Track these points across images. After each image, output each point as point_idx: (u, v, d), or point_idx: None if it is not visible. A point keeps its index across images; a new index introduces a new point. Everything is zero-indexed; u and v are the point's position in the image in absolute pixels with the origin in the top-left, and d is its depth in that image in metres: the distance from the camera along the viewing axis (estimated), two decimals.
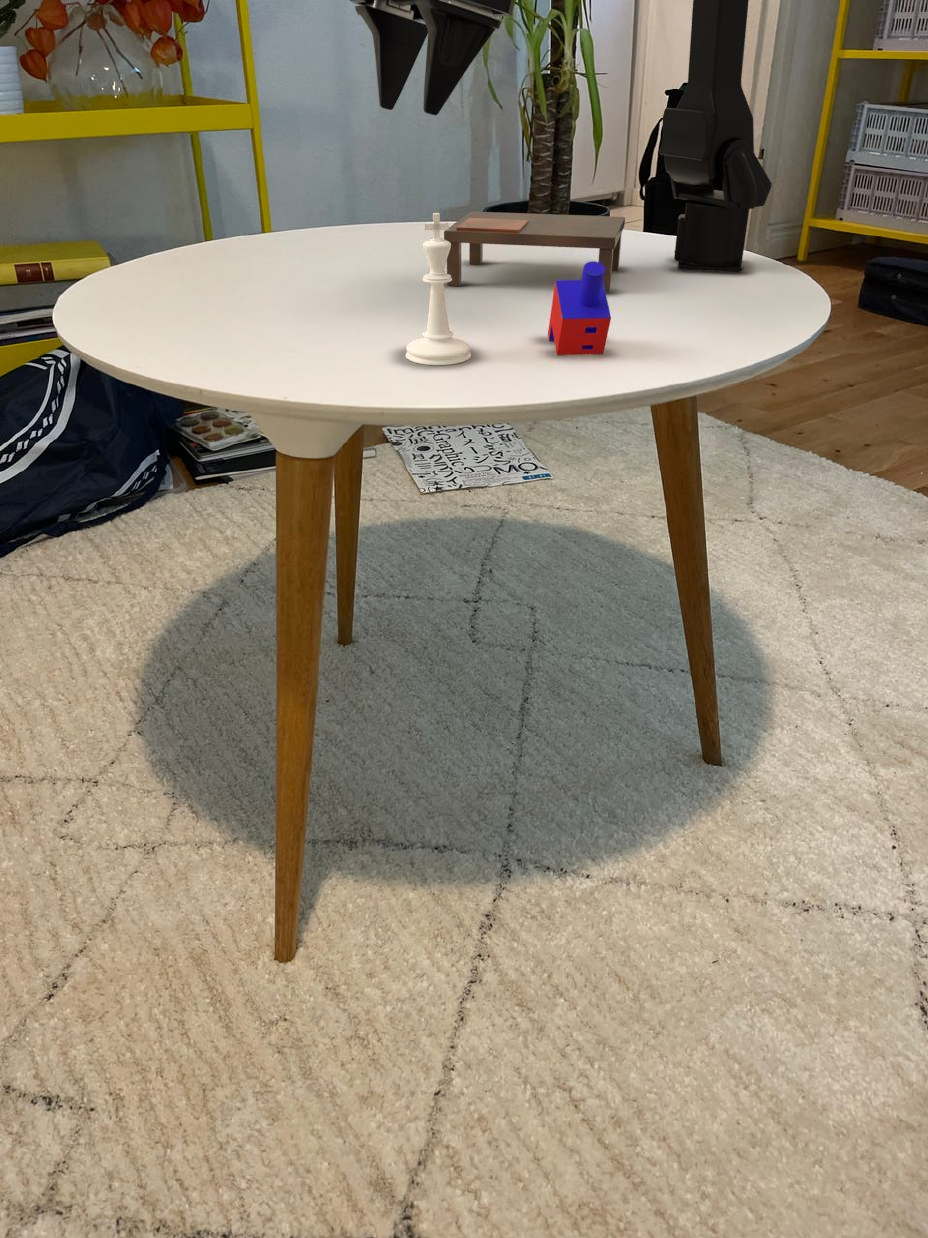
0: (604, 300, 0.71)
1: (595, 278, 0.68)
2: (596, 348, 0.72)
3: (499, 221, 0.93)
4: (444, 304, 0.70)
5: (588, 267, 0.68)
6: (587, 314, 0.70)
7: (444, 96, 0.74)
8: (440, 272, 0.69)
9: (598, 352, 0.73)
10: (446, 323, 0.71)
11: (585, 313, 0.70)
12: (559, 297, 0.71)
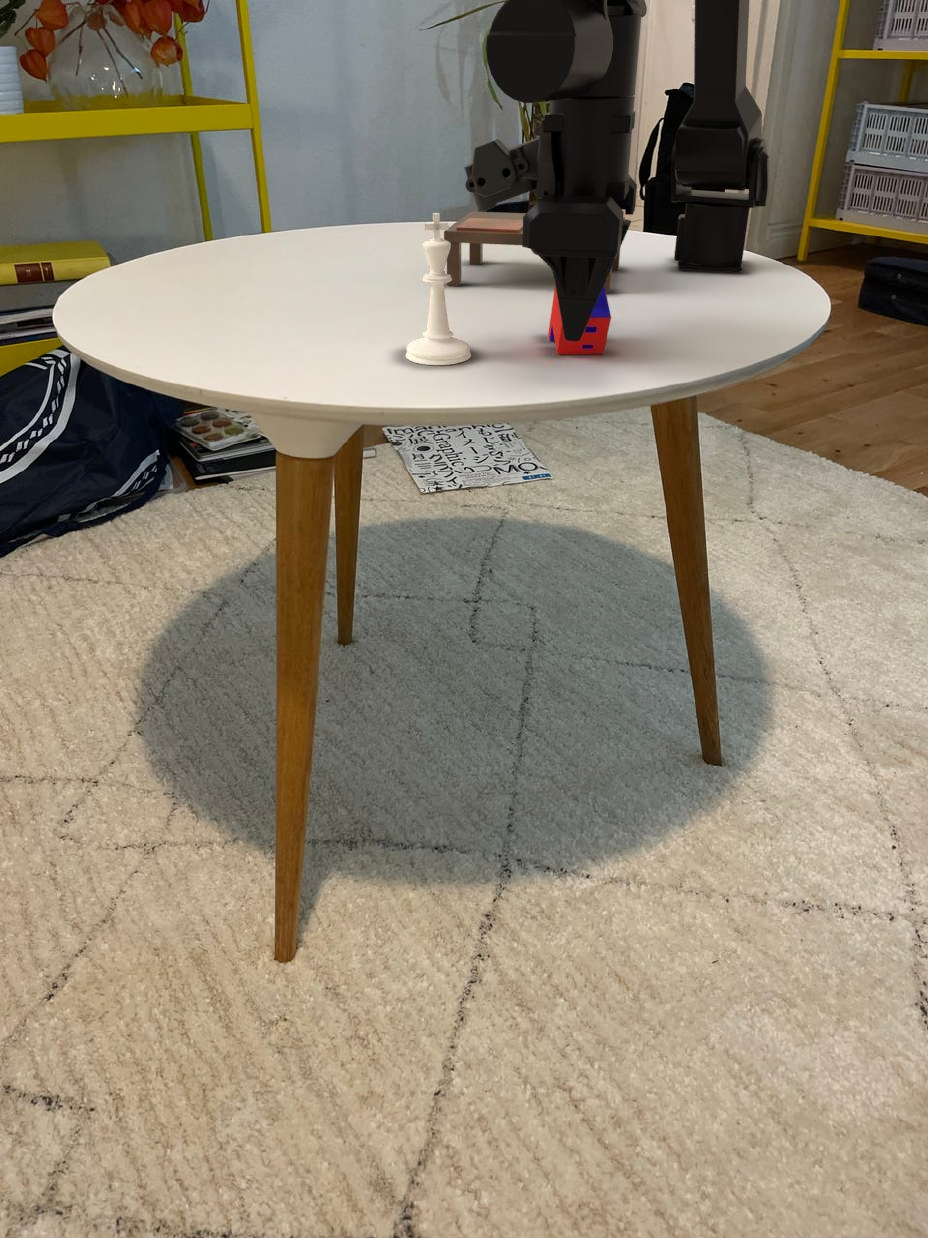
0: (604, 300, 0.71)
1: None
2: (597, 348, 0.72)
3: (499, 221, 0.93)
4: (444, 304, 0.70)
5: None
6: None
7: (581, 323, 0.69)
8: (440, 272, 0.69)
9: (599, 352, 0.73)
10: (446, 323, 0.71)
11: None
12: None
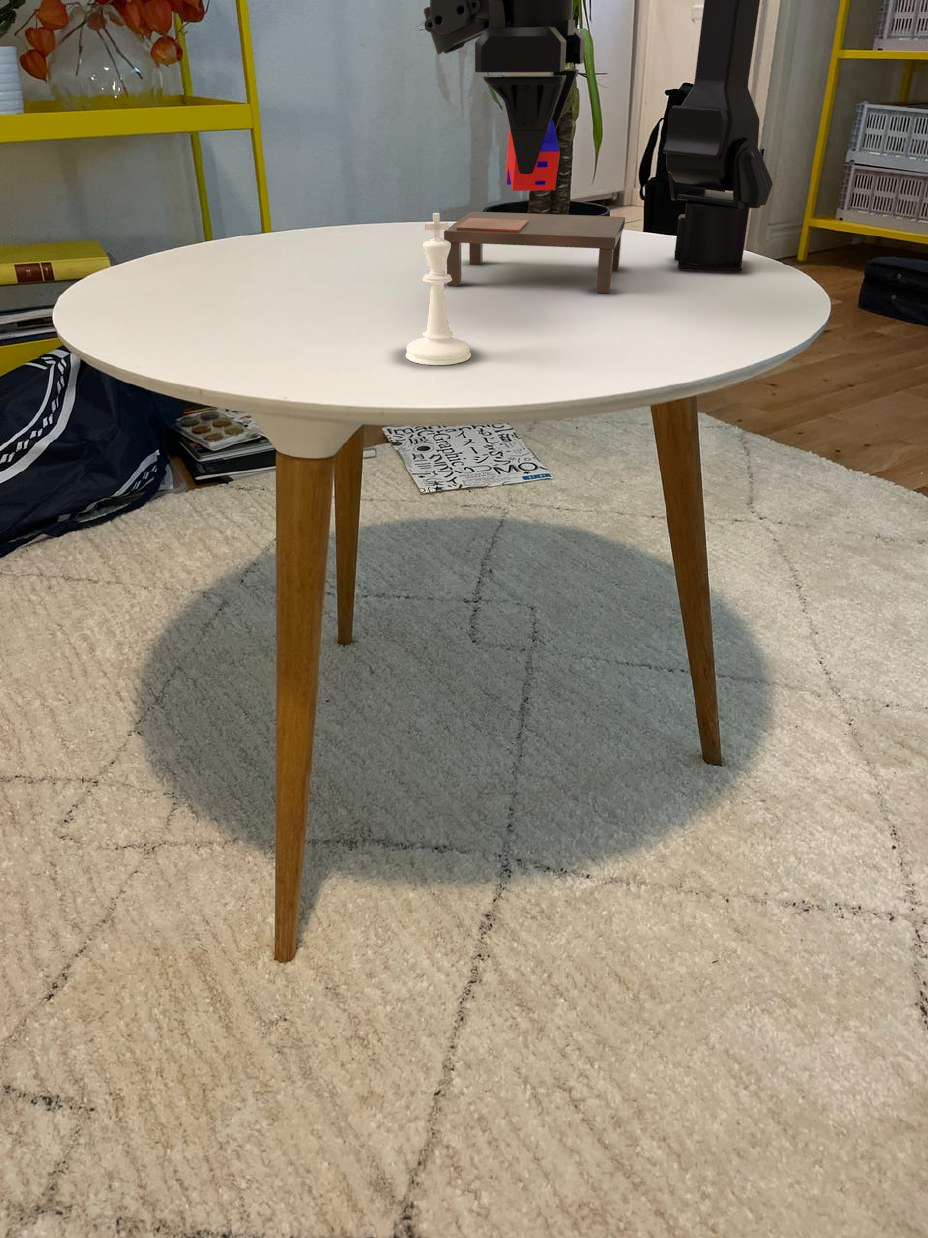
0: (554, 137, 0.78)
1: None
2: (548, 184, 0.79)
3: (499, 221, 0.93)
4: (444, 304, 0.70)
5: None
6: None
7: (533, 155, 0.76)
8: (440, 272, 0.69)
9: (550, 188, 0.80)
10: (446, 323, 0.71)
11: None
12: None
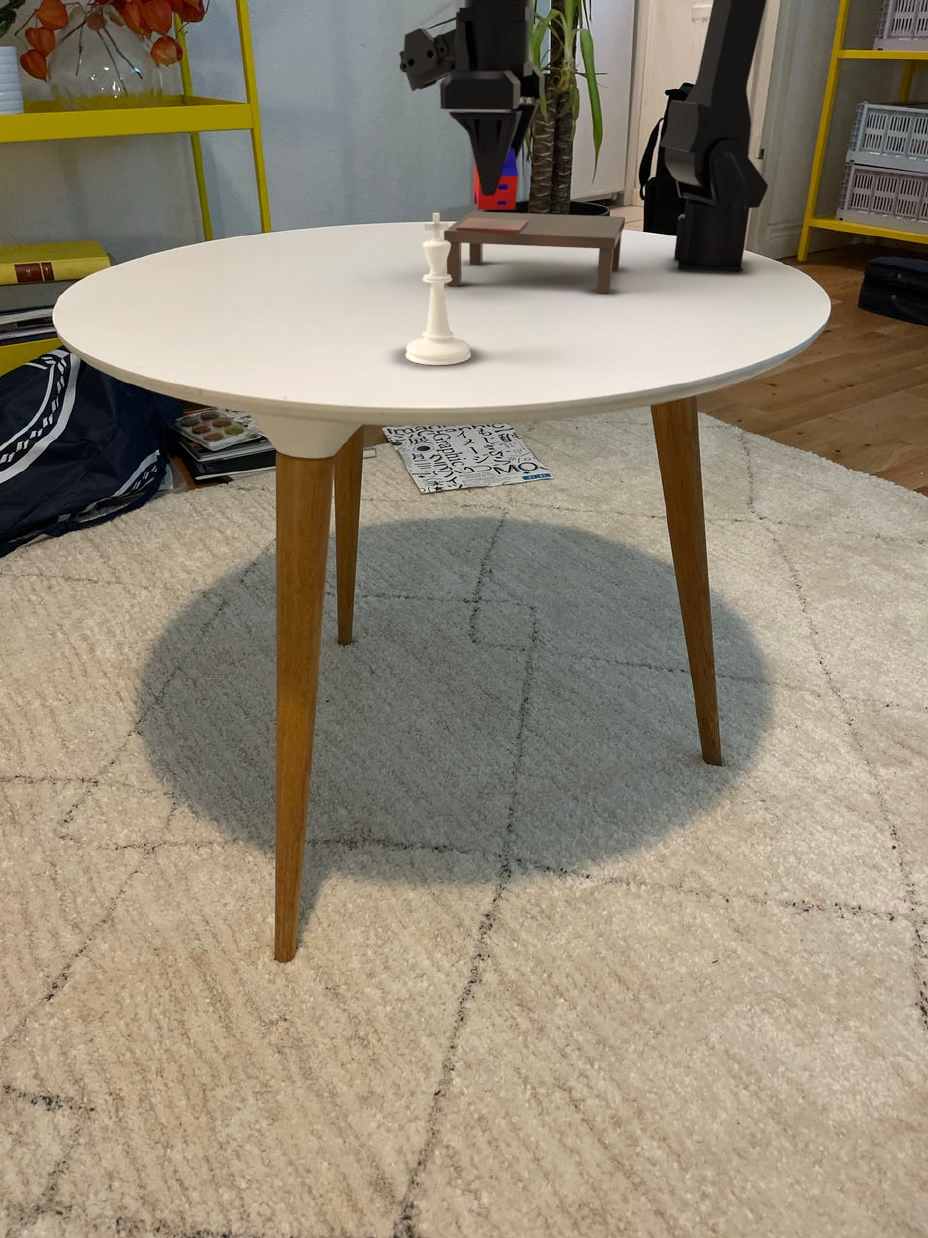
0: (514, 163, 0.89)
1: None
2: (509, 204, 0.90)
3: (499, 221, 0.93)
4: (444, 304, 0.70)
5: None
6: None
7: (494, 179, 0.87)
8: (440, 272, 0.69)
9: (511, 207, 0.91)
10: (446, 323, 0.71)
11: None
12: None
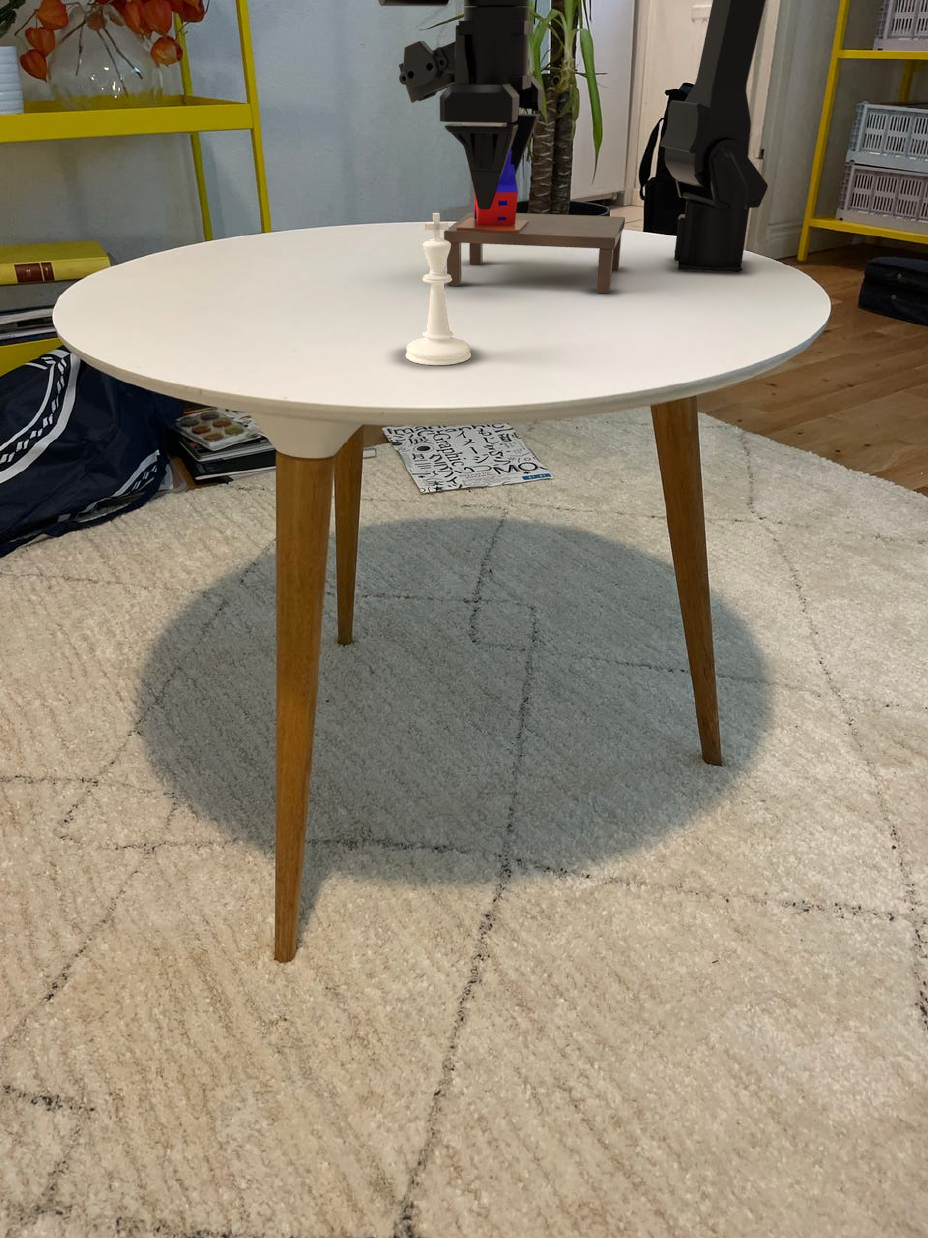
0: (513, 179, 0.90)
1: None
2: (509, 220, 0.91)
3: None
4: (444, 304, 0.70)
5: None
6: (499, 189, 0.89)
7: (490, 193, 0.86)
8: (440, 272, 0.69)
9: (511, 223, 0.91)
10: (446, 323, 0.71)
11: (497, 189, 0.89)
12: None
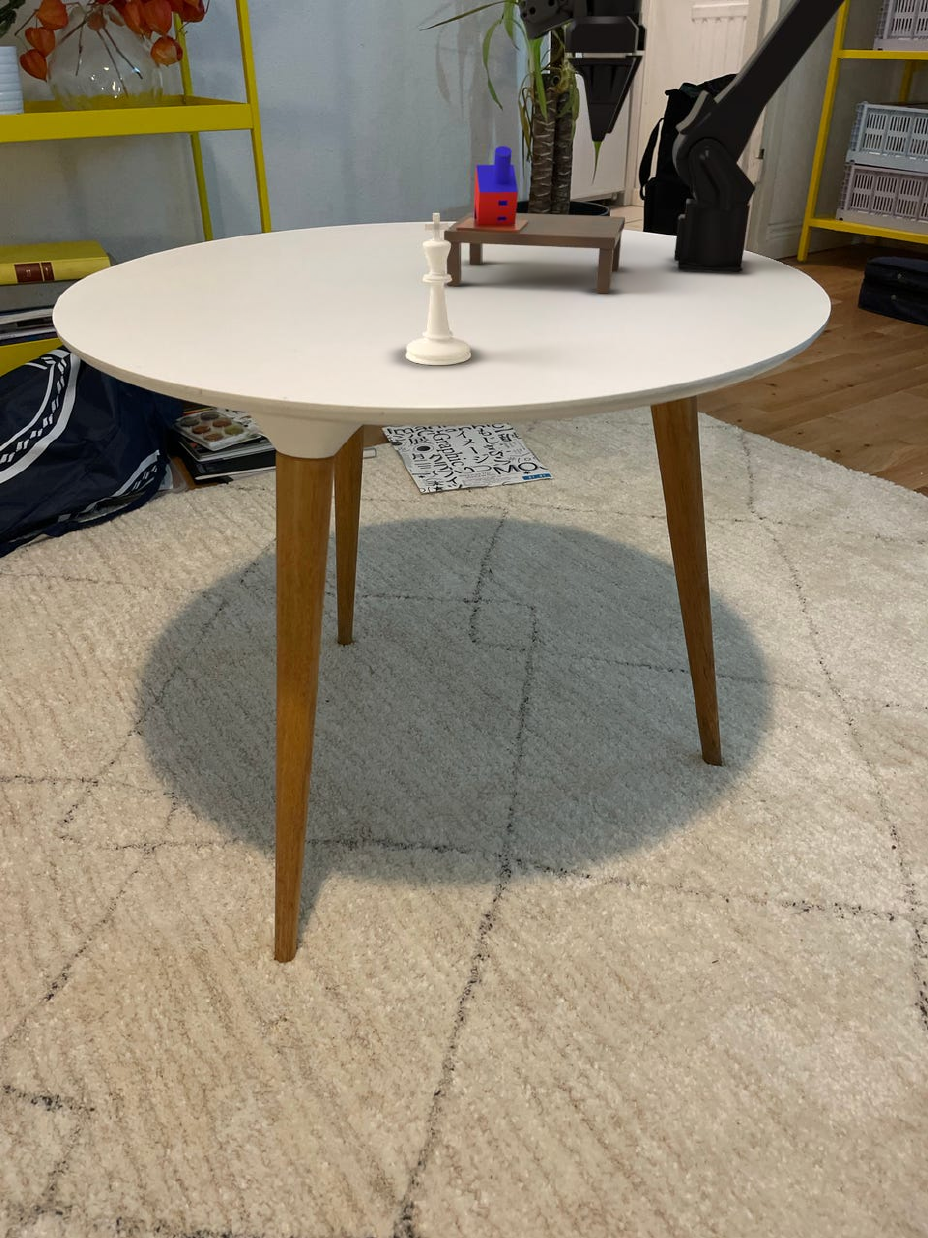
0: (513, 179, 0.90)
1: (504, 158, 0.87)
2: (509, 220, 0.91)
3: None
4: (444, 304, 0.70)
5: (498, 150, 0.87)
6: (499, 189, 0.89)
7: (605, 125, 0.90)
8: (440, 272, 0.69)
9: (511, 223, 0.91)
10: (446, 323, 0.71)
11: (497, 189, 0.89)
12: (478, 177, 0.90)
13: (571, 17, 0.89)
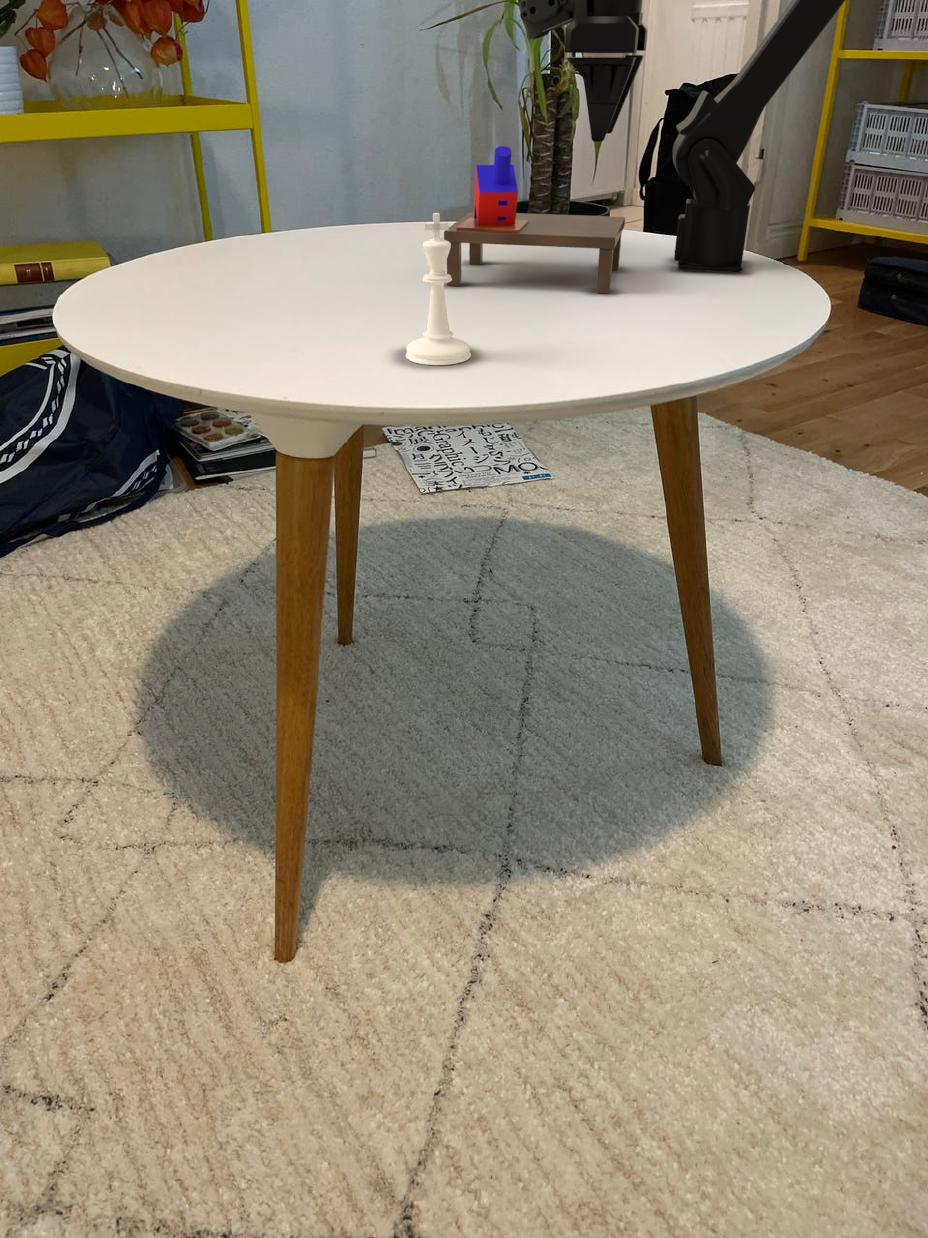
0: (513, 179, 0.90)
1: (504, 158, 0.87)
2: (509, 220, 0.91)
3: None
4: (444, 304, 0.70)
5: (498, 150, 0.87)
6: (499, 189, 0.89)
7: (605, 125, 0.90)
8: (440, 272, 0.69)
9: (511, 223, 0.91)
10: (446, 323, 0.71)
11: (497, 189, 0.89)
12: (478, 177, 0.90)
13: (571, 17, 0.89)
